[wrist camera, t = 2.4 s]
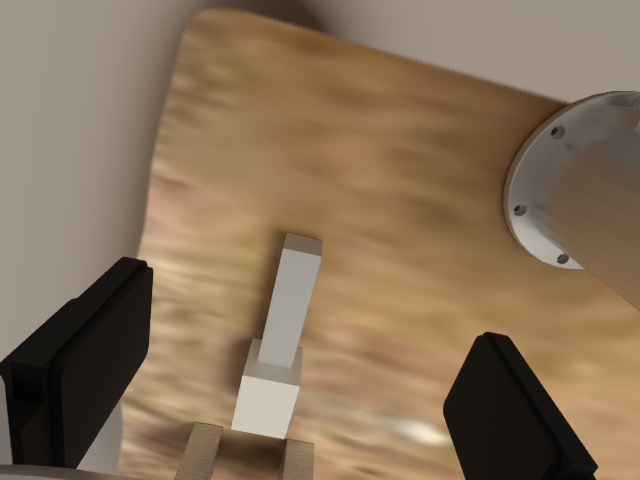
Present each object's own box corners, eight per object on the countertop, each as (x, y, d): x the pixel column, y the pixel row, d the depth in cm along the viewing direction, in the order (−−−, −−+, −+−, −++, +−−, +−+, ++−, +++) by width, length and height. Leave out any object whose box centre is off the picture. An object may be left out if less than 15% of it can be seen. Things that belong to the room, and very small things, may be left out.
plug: (276, 230, 29) (267, 256, 25) (333, 243, 30) (334, 271, 26) (240, 397, 36) (229, 439, 32) (286, 406, 37) (281, 448, 33)
